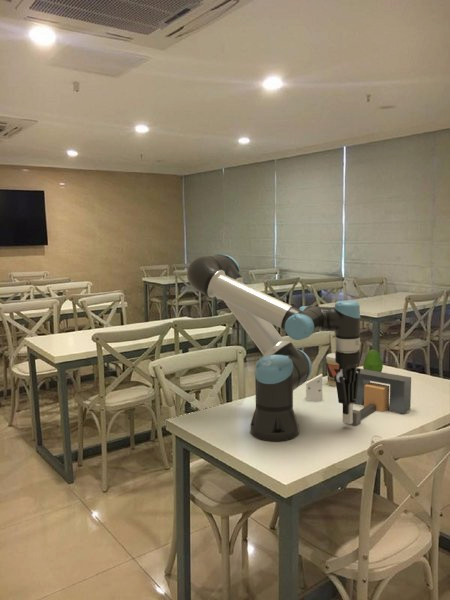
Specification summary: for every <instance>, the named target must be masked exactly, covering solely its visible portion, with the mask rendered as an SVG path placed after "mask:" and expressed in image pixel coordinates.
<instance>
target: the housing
mask: <svg viewBox="0 0 450 600" xmlns="http://www.w3.org/2000/svg"><path fill="white" fill-rule="evenodd" d="M370 382H373V383H378V384H383V385H389V412H392V413H396V414H400V415H405V414H406V413H408V412H409V411H411V403H412V402H411V401H412V377H411V376H405V375H399V374H394V373H388V372H382V371H381V372H377V371H371V370H366V369H363V368H360V374H359V380H358V389H357V397H356V399H354V400H355V401H356V403H354V404H356V405H360V406H364V386H365V385H366V384H368V383H370Z"/></svg>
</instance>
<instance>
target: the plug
mask: <svg viewBox="0 0 450 600" xmlns="http://www.w3.org/2000/svg"><path fill="white" fill-rule="evenodd" d="M389 409H390V385H388V384H383V383H378V382H372V381H370V383H368V384H366V385H365V386H364V404H363V407H362V409H360V410H358V409H357V410H356V409H353V423H352V424H350V425H352V426H356V427H357V426H358V425H360V424H361V422H362V421H363V420H364V419H365V418H367V417H368V416H370V415H371V414H373V413H374V412H375V411H376V412H377V411H378V412H383V413H384V412H385V411H387V410H389Z"/></svg>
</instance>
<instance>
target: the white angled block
mask: <svg viewBox="0 0 450 600" xmlns="http://www.w3.org/2000/svg"><path fill="white" fill-rule="evenodd" d="M305 383H306V384H305V385H306V386H305V387H306V388H305V401H306V402H323V373H320V374H318V375H317V376H315V377H313V378H312V379H309V380H308V381H307V380H306V381H305Z"/></svg>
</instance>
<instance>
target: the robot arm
mask: <svg viewBox="0 0 450 600" xmlns="http://www.w3.org/2000/svg"><path fill="white" fill-rule="evenodd" d="M240 271H241V268H240V266H239V263H238V262H237V260H236V259H235V258H233V257H232V256H230V255H227V254H219V253H217V254H213V255H202V256H198V257H196V258H195V259H193V260H192V261H191V262H190V263H189V265H188V267H187V270H186V277H187V281H188V284H189V285H190V286H191V287H192V288H193V289H194V290H196V291H198V292H199V293H200V294H202V295H205V296H206V297H209V298H215V299H216V300H217V299H218V300H222V301H223V302H224V303H225V305H226V306H227V307H228V309H229V311H230V312H231V313H232V315H234V317H235V318H236V320H237V321H238V322H239V324H240V325H241V327H242V328H243V330H244V331H245V332H246V333H247V335H248V337H250V340H252V341H253V342H254V344H255V346H257V348H258V349H259V351H260V353H262V355H263V356H261V358H259V359H258V360H257V361H256V363H255V370H254V379H255V380H254V383H255V384H254V385H255V386H254V387H255V390H254V394H255V409H254V411H253V415H252V419H251V422H250V434H251V435H252V436H253V437H255V438H256V439H259V440H263V441H270V442H283V441H288V440H291V439H294V438H296V437H297V436H298V435H299V431H300V428H299V427H300V425H299V422H298V420H297V417H296V414H295V410H294V390H296V389H298V388H299V387H300V386H302V385H303V384H305V383H306V382H307V380H308V379H309V377H310V376H311V372H312V370H313V369H312V367H313V366H312V361H311V358H310V357H309V356H308V354H307V353H305V352H304V351H303V350H302V349H298V348H296V346H294V343H292V342H291V341H290V340H284V338H283V337H282V336H281V334H280V333H279V332H278V330H277V329H276V328H275V327H274V326H276V327H278V328H280V329H282V330H284V331H285V333H286V334H287V336H288V337H289V338H290V339H292V340H294V341H301V340H305V339H307V338H309V337H310V336H312V335H313V334H315V333H318V332H319V331H329V332H334V333H335V335H334V337H335V338H334V339H335V340H334V341H335V342H334V349H335V350H336V351H335V352H334V353H335V361H336V363H338V364H339V370H338V371H339V374H338V376H336V375H335V376H334V379H335V382H336V393H337V394H336V395H337V400H338V403H339V404H342V423H343V424H347V425H351V424H352V423H353V410H354V408H353V407H354V406H353V405H354V404H355V403H356V401H355V400H354V399H356V397H357V389H358V380H359V374H360V369H361V368H360V367H359V368H358V367H357V365H358V364H360V362H361V352H360V349H361V344H362V343H361V334H360V333H361V311H360V310H361V308H360V304H359V302H358V301H356V300H355V301H354V300H338V301H336V302H335V304H334V306H331V307H328V306H316V305H315V306H312V305H306V306H305V305H304V306H303V305H302V306H300V307H299V308H297V307H295V306H292V305H290V304H288V303H287V302H283V300H280V299H278V298H275V297H273V296H271V295H269V294H267V293H265V292H264V291H263V292H262V291H260V290H258V289H256V288H254V287H252V286H250V285H247V284H246V283H244V278H243V276H242V275H241V272H240Z"/></svg>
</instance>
